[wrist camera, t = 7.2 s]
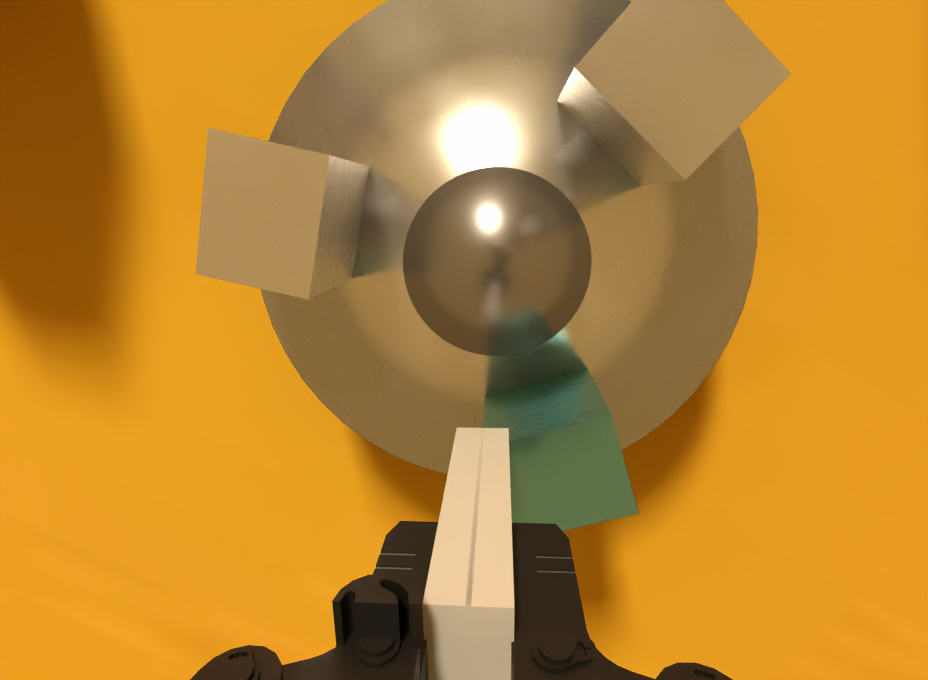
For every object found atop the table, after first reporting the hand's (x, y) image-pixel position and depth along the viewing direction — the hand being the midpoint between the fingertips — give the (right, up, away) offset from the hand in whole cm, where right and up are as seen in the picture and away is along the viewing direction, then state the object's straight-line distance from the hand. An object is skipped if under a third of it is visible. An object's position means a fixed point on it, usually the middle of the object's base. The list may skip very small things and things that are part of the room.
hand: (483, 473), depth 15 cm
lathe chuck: (+1, +7, +4) cm, 8 cm away
